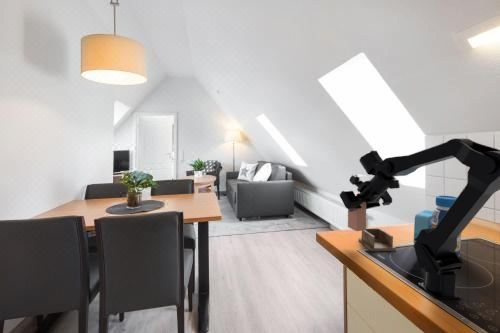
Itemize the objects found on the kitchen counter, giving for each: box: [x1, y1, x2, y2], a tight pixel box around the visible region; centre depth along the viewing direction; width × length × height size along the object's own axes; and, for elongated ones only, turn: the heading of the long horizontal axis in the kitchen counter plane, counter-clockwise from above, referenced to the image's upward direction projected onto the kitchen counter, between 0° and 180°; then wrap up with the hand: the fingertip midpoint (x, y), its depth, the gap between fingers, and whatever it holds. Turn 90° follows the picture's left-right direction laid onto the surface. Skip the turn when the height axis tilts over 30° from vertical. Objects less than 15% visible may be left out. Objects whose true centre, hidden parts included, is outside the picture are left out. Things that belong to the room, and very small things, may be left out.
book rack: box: [358, 227, 397, 252], centre depth 94 cm, size 10×9×5 cm
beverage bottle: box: [431, 195, 462, 257], centre depth 86 cm, size 8×8×20 cm
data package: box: [413, 209, 434, 244], centre depth 95 cm, size 12×4×12 cm, turn 127°
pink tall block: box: [347, 192, 367, 232], centre depth 93 cm, size 5×4×13 cm
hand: (354, 210), depth 94 cm, fingers closed on pink tall block, 4 cm apart
